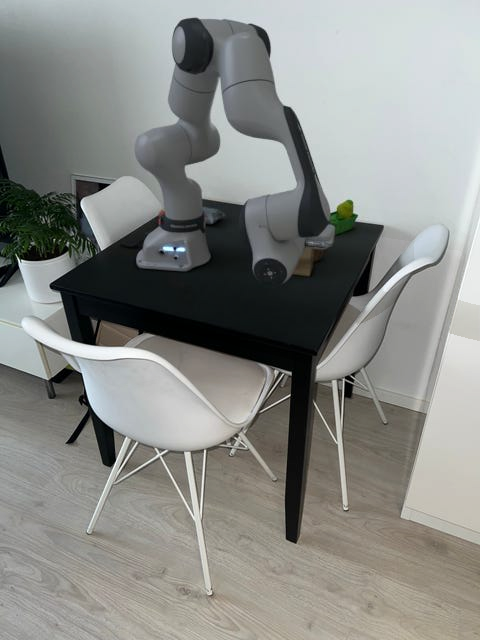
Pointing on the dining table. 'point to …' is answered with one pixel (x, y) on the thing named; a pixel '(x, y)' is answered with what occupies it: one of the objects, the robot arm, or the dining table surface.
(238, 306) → the dining table surface
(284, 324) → the dining table surface
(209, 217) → the packaged food
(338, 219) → the fruit basket
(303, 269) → the maple block
